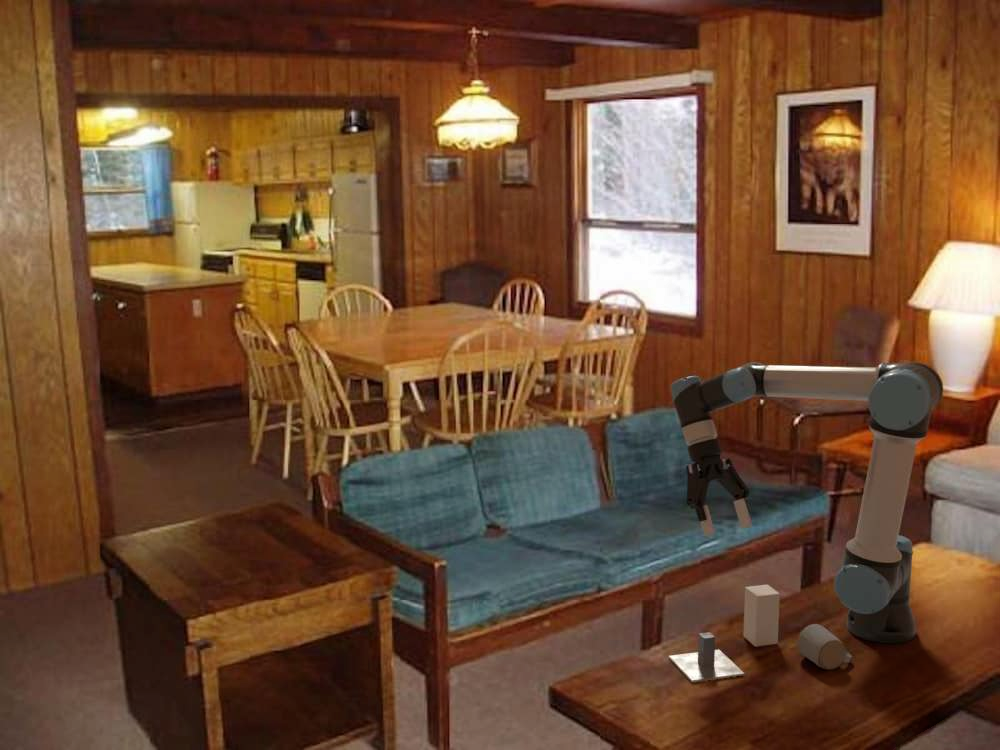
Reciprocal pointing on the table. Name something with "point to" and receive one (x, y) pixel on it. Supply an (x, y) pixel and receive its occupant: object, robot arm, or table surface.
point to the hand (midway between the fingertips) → (728, 531)
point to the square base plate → (706, 662)
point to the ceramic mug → (822, 647)
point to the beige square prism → (761, 615)
